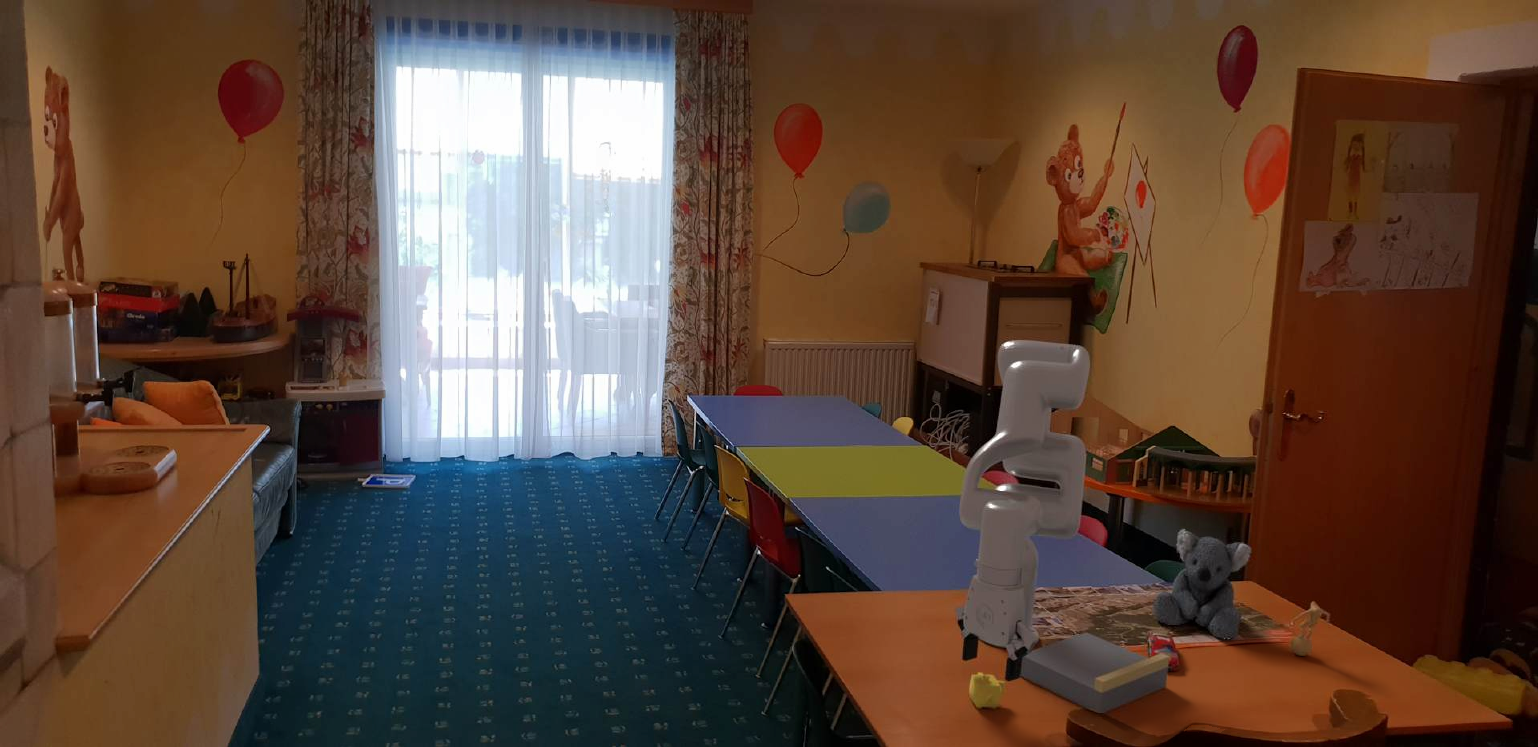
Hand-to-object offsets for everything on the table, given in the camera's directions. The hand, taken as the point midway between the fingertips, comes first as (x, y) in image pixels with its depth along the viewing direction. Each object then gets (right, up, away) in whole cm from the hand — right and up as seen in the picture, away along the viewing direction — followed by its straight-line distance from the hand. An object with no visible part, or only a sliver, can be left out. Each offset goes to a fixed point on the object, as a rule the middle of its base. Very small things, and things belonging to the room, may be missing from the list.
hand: (990, 668), depth 188 cm
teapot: (0, -7, +2) cm, 7 cm away
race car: (+39, -5, +25) cm, 46 cm away
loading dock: (+21, -6, +13) cm, 26 cm away
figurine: (+68, -6, +29) cm, 75 cm away
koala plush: (+54, -2, +46) cm, 71 cm away
